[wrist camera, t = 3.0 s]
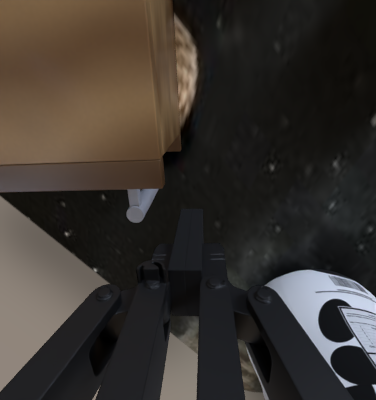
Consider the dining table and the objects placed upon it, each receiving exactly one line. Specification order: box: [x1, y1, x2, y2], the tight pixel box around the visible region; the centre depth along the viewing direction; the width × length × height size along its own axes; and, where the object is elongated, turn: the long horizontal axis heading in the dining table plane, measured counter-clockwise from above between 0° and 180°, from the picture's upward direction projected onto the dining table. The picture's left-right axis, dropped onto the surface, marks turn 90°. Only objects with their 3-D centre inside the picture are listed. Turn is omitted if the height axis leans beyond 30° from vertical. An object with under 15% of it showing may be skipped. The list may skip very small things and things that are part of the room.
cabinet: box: [0, 0, 181, 192], centre depth 18 cm, size 14×20×13 cm
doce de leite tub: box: [246, 269, 376, 400], centre depth 26 cm, size 17×17×18 cm
